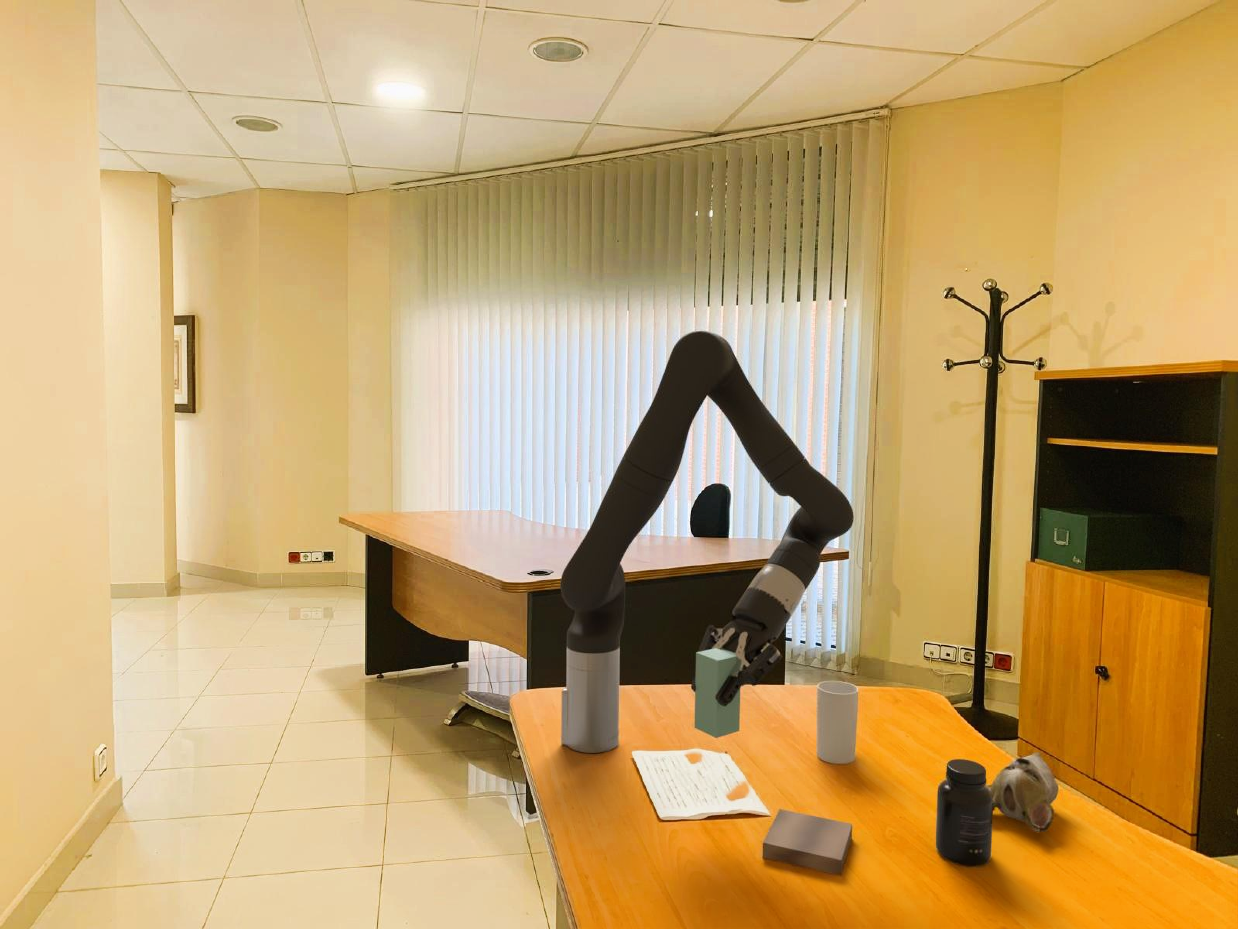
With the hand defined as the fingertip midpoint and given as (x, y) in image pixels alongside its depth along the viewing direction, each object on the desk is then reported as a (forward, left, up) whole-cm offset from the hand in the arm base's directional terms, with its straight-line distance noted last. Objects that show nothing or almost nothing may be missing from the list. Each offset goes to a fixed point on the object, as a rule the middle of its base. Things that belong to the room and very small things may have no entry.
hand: (707, 696), depth 116 cm
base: (+15, -1, -18) cm, 23 cm away
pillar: (+1, +2, -5) cm, 6 cm away
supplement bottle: (+34, +6, -18) cm, 39 cm away
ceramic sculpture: (+41, +21, -18) cm, 50 cm away
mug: (+14, +32, -18) cm, 39 cm away
